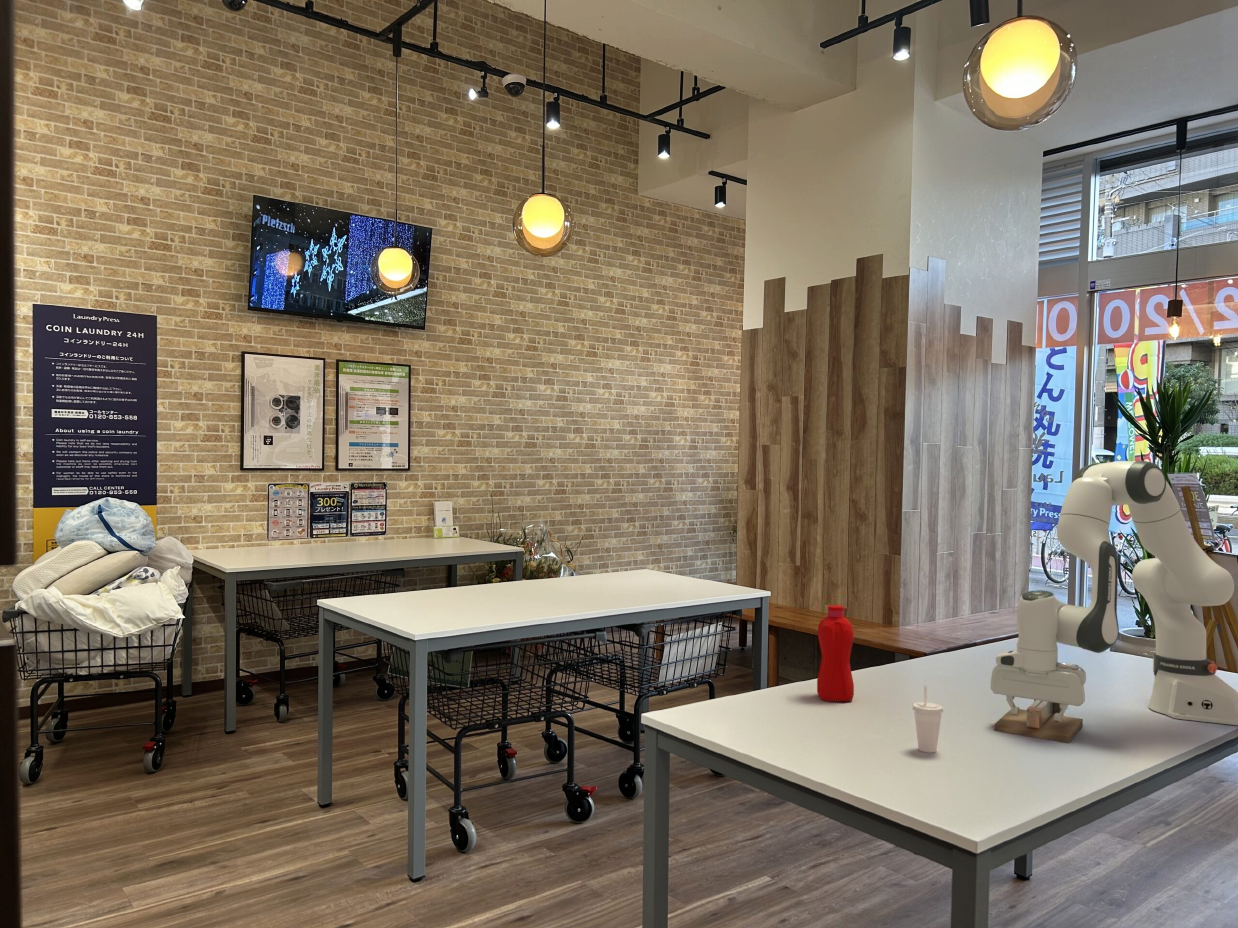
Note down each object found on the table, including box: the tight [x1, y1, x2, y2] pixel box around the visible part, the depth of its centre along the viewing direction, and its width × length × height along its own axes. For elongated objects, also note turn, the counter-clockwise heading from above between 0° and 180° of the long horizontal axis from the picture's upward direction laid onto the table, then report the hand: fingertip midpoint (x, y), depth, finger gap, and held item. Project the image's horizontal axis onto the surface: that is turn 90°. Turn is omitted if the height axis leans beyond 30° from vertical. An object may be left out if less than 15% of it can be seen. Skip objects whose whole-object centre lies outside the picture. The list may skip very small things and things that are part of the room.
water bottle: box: [816, 604, 855, 703], centre depth 238 cm, size 9×11×25 cm
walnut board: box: [994, 708, 1084, 744], centre depth 212 cm, size 16×18×2 cm
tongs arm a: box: [1033, 701, 1053, 728], centre depth 212 cm, size 16×1×4 cm, turn 143°
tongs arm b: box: [1026, 700, 1042, 727], centre depth 212 cm, size 16×1×4 cm, turn 144°
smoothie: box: [912, 685, 944, 753], centre depth 194 cm, size 6×6×14 cm
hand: (1036, 718), depth 209 cm, fingers open, 8 cm apart
